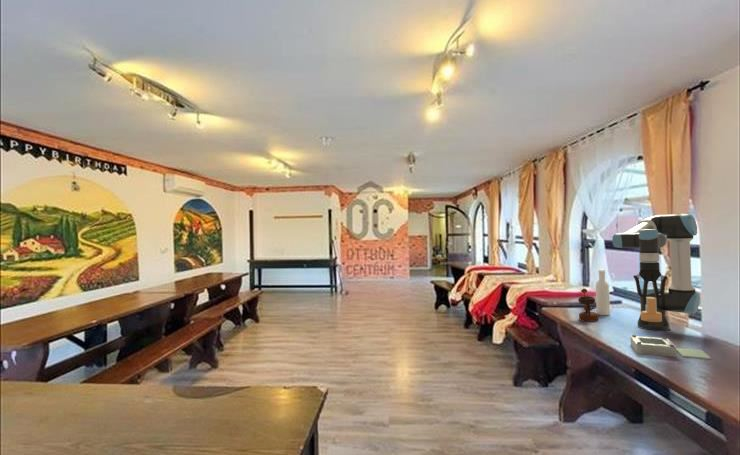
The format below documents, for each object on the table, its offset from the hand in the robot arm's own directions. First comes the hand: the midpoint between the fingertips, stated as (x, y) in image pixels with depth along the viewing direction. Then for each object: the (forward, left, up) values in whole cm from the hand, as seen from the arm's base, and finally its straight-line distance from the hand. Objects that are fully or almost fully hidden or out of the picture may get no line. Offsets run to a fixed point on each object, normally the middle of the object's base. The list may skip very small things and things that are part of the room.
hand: (651, 311), depth 185 cm
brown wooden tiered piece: (-59, -22, -19) cm, 66 cm away
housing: (0, 0, -19) cm, 19 cm away
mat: (0, +15, -19) cm, 24 cm away
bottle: (-80, -12, -19) cm, 83 cm away
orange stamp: (0, 0, -4) cm, 4 cm away
